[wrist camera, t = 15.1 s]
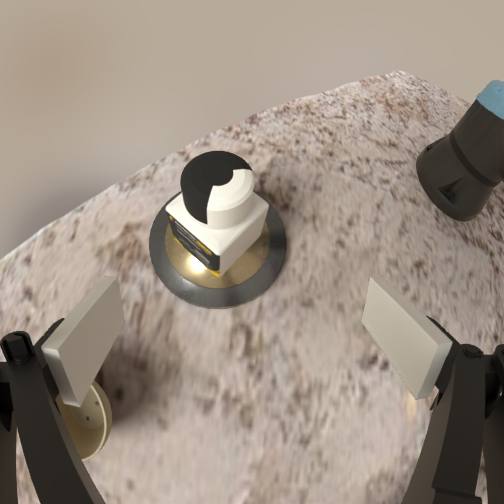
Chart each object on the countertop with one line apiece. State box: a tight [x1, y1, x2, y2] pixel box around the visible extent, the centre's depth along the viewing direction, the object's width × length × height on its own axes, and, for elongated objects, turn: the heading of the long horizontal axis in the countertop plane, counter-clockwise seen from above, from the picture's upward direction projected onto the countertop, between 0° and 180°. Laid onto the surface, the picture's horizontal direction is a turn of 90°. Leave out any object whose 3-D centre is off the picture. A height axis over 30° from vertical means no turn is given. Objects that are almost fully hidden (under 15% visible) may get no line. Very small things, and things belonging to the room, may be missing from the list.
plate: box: [149, 191, 286, 309], centre depth 35 cm, size 16×16×2 cm
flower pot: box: [55, 380, 112, 462], centre depth 23 cm, size 10×10×7 cm
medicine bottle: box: [166, 151, 269, 277], centre depth 29 cm, size 7×7×12 cm
